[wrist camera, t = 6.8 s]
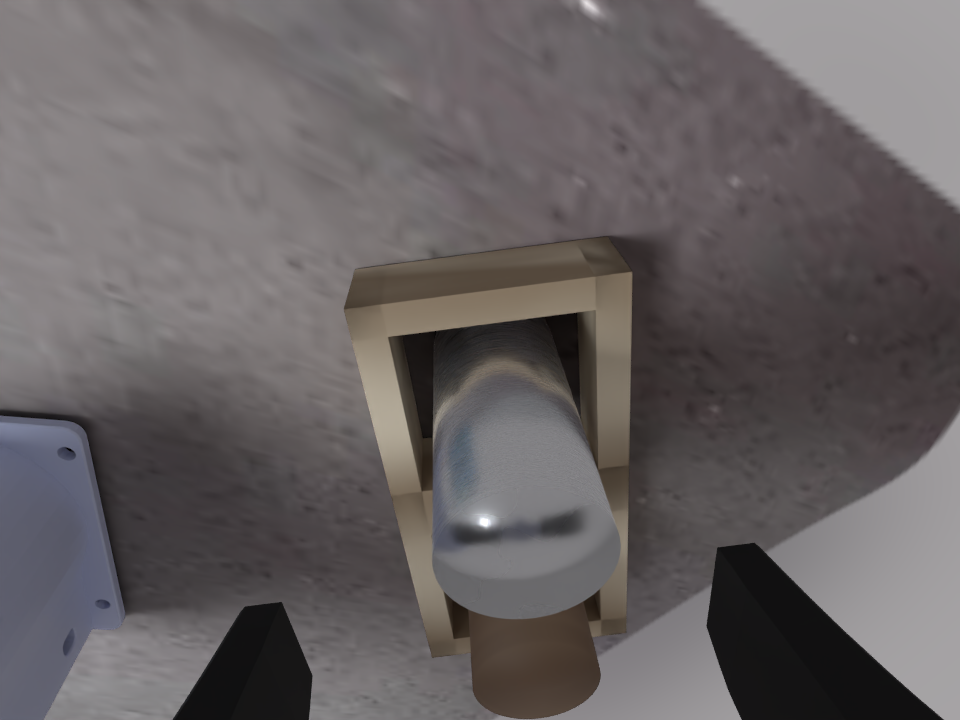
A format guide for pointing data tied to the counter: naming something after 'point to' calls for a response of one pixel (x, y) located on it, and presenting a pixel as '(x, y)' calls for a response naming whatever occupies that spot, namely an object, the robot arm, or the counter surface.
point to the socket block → (409, 457)
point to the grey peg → (514, 476)
